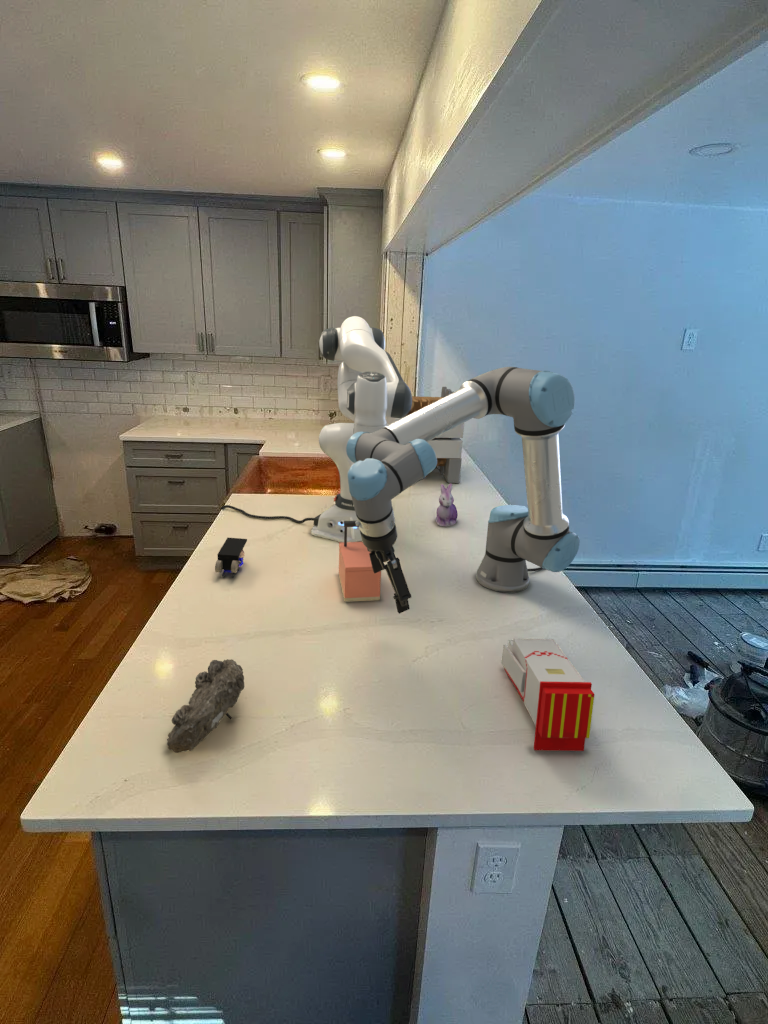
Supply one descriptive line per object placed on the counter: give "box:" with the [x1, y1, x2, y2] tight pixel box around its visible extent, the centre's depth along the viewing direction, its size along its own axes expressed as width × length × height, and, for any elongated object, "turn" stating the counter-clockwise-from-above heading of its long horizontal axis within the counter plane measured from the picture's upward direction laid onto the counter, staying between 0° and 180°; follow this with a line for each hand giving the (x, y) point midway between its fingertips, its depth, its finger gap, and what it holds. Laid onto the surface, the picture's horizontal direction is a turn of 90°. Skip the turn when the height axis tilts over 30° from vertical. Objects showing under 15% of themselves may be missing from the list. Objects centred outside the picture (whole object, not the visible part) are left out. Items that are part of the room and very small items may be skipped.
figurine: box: [434, 483, 459, 527], centre depth 210 cm, size 9×10×15 cm
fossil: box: [166, 658, 245, 754], centre depth 106 cm, size 22×10×15 cm
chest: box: [338, 547, 382, 603], centre depth 159 cm, size 16×10×9 cm, turn 10°
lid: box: [338, 521, 373, 571], centre depth 157 cm, size 17×10×9 cm, turn 10°
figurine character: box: [214, 537, 248, 578], centre depth 166 cm, size 7×8×15 cm
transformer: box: [386, 386, 465, 484], centre depth 268 cm, size 34×33×41 cm
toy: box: [500, 637, 595, 752], centre depth 114 cm, size 12×13×30 cm
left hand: (368, 482), depth 159 cm, fingers open, 8 cm apart
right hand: (390, 589), depth 132 cm, fingers open, 13 cm apart
